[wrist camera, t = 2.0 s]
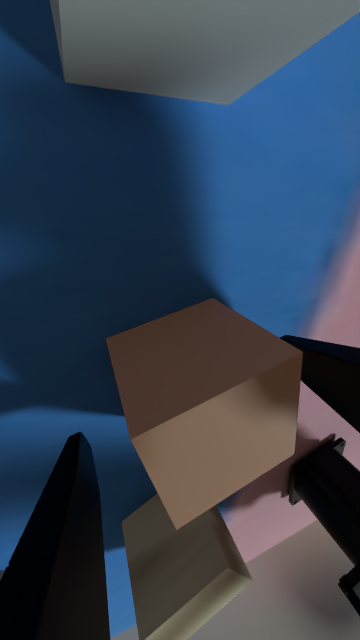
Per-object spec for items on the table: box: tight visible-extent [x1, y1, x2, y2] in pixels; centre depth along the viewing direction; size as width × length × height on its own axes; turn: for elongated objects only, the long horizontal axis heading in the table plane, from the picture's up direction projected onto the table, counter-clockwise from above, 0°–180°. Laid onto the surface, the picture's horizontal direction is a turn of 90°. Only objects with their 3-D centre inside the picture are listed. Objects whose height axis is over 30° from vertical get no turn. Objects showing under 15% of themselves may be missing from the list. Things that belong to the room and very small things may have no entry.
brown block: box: [106, 298, 303, 530], centre depth 9 cm, size 5×5×5 cm
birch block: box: [122, 494, 253, 640], centre depth 14 cm, size 5×5×5 cm
